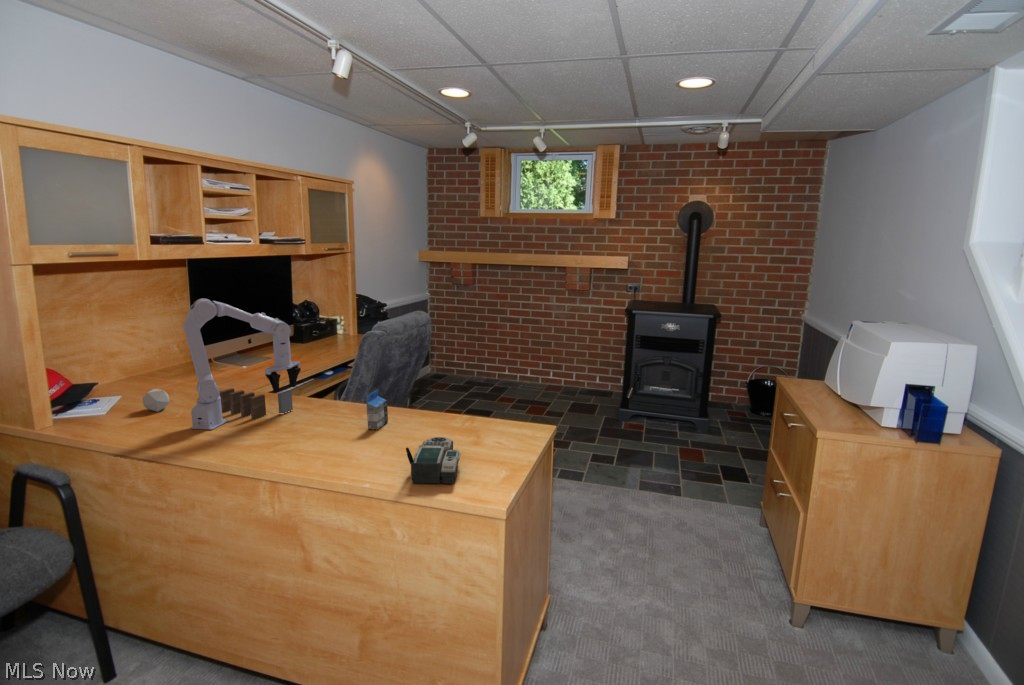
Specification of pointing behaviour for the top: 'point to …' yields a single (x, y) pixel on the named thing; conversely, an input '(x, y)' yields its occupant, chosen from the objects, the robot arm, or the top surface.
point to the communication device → (434, 461)
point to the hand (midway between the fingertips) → (284, 388)
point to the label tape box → (376, 411)
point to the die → (156, 400)
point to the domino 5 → (285, 401)
